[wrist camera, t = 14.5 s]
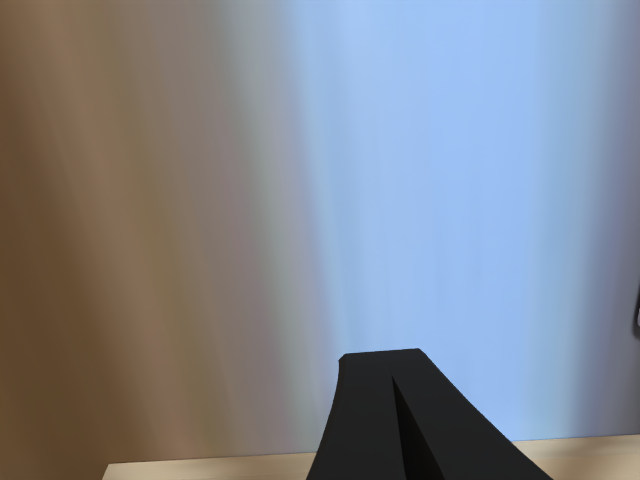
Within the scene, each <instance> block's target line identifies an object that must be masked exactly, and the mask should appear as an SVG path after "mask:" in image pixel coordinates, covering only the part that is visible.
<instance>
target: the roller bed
mask: <svg viewBox="0 0 640 480" xmlns="http://www.w3.org/2000/svg"><path fill="white" fill-rule="evenodd" d="M512 443H513V444H514V445H515V446H516V447H517V448H518V449H519V450H520V451H521V452H522V453H524V454H525V455H526V456H527V457H528V458H529V459H530V460H532V461H533V462H534V463H535V464H536V465H537V466H539V467H540V468H541V469H542V470H543V471H544V472H545V473H547V474H548V475H549V476H550V477H551V478H552V479H554V480H640V434H639V435H622V436H604V437H586V438H568V439H550V440H532V441H514V442H512ZM316 453H317V452H316ZM316 453H298V454H280V455H262V456H244V457H226V458H208V459H190V460H172V461H154V462H136V463H118V464H109V465H108V468H107V470H106V472H105V474H104V477H103V479H102V480H306V478H307V475H308V473H309V470H310V468H311V465H312V463H313V461H314V458H315V456H316Z"/></svg>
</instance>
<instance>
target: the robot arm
mask: <svg viewBox="0 0 640 480" xmlns="http://www.w3.org/2000/svg"><path fill="white" fill-rule="evenodd" d="M638 325H639V326H640V310H639V315H638ZM306 480H554V479H552V478H551V477H550V476H549V475H548V474H547V473H545V472H544V471H543V470H542V469H541V468H540V467H539V466H537V465H536V464H535V463H534V462H533V461H532V460H530V459H529V458H528V457H527V456H526V455H525V454H524V453H522V452H521V451H520V450H519V449H518V448H517V447H516V446H515V445H514V444H513V443H512V442H510V441H509V440H508V439H507V438H506V437H505V436H504V435H503V434H502V433H501V432H500V431H499V430H498V429H497V428H496V427H495V426H494V425H493V424H492V423H490V422H489V421H488V420H487V419H486V418H485V417H484V416H483V415H482V414H481V413H480V412H479V411H478V410H477V409H476V408H475V407H474V406H473V405H472V404H471V403H470V402H469V401H468V400H467V399H466V398H465V397H464V396H463V395H462V394H461V392H460V391H459V390H458V389H457V388H456V387H455V386H454V385H453V384H452V383H451V382H450V381H449V380H448V379H447V378H446V376H445V375H444V374H443V373H442V372H441V371H440V370H439V369H438V368H437V367H436V365H435V364H434V363H433V362H432V361H431V360H430V359H429V358H428V356H427V355H426V354H425V353H424V352H423V351H421V350H420V349H419V348H416V349H402V350H389V351H375V352H361V353H348V354H344V355H343V356H342V357H341V358H340V359H339V374H338V382H337V387H336V392H335V396H334V400H333V404H332V408H331V411H330V414H329V418H328V421H327V424H326V427H325V430H324V433H323V437H322V440H321V442H320V445H319V448H318V451H317V453H316V456H315V458H314V461H313V463H312V465H311V468H310V470H309V473H308V475H307V478H306Z"/></svg>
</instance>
